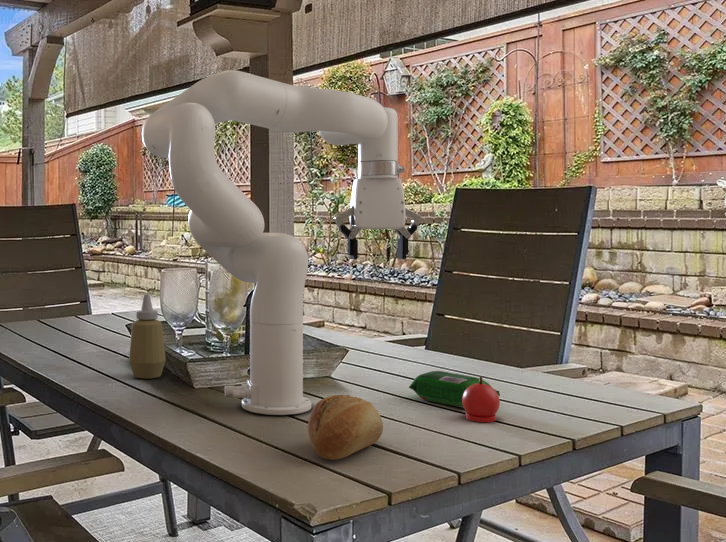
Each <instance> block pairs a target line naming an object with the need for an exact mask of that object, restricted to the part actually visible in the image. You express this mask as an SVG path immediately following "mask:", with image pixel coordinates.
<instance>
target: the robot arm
mask: <svg viewBox="0 0 726 542" xmlns="http://www.w3.org/2000/svg"><path fill="white" fill-rule="evenodd" d="M398 116H399V115H398V112H397V110H395V109H394V108H392V107H388V106H387V107H386V106H383V105H382V104H381V103H380V102H378V101H377V100H375V99H373V98H370V97H368V96H364V95H360V94H358V93H353V92H349V91H344V90H338V89H337V90H335V89H330V88H329V89H327V88H319V87H318V88H317V87H311V86H302V85H294V84H289V83H285V82H281V81H278V80H274V79H270V78H267V77H264V76H260V75H257V74H252V73H249V72H246V71H241V70H234V69H233V70H231V69H230V70H229V69H228V70H224V71H221V72H218V73H216V74H213V75H210V76H207V77H204V78H202V79H200V80H199V81H197V82H196V83H194V84H193V85H191V86H190V87H188V88H187V89H186V90H184V91H182V92H181V93H179V94H178V95H177V96H175V97H173V98H172V99H171V100H169V101H168V102H166V103H165V104H164V105H162V106H160V107H159V108H158V109H156V110H155V111H153V112H152V113H151V114H149V116H148V117H147V118H146V120H145V121H144V123H143V126H142V130H141V139H142V142H143V145H144V147H145V149H147V151H148V152H149V153H150V154H152V155H153V156H155V157H158V158H161V159H168V164H169V175H170V180H171V184H172V187H173V189H174V192H175V193H176V195H177V196H178V198H179V199H180V200H181V202H182V203H183V204H184V205H186V207H187V208H188V209H189V210H190V211H189V213H188V220H187V222H188V223H187V224H188V228H189V232H190V234H191V236H192V238H193V240H194V241H195V242H196V243H197V244H198V246H199V247H201V248H202V249H203V251H204V252H206V253H207V254H208V255H209V256H210V257H211V258H212V259H213V260H214V261H215V262H217V264H219V266H221V267H222V268H223V269H224V270H225V271H226V272H227V273H229V274H230V275H231V276H232V277H234V278H235V279H238V280H239V281H242V282H245V283H250V284H255V287H254V290H253V292H252V297H251V300H250V306H249V367H250V368H249V374H250V375H249V379H246V383H241V385H224V388H223V389H224V397H232V398H233V399H241V398H242V399H241V407H242V409H244V410H245V411H248V412H250V413H254V414H259V415H267V416H291V415H299V414H304V413H307V412H308V411H310V410H311V409H312V403H313V402H312V400H311V399H309V398H307V397H306V396H304V319H303V318H304V313H303V312H304V291H305V285H306V279H307V275H308V268H309V256H308V252H307V249H306V247H305V245H304V244H303V242H302V241H300V239H298V238H297V237H296V236H294V235H291V234H288V233H284V232H264V230H265V220H264V216H263V213H262V211H261V210H260V208H259V207H258V206H257V205H256V203H254V201H252V200H251V198H249V197H248V196H247V195H246V194H245V193H244V192H243V191H242V190H241V189H240V188H239V187H238V186H237V185H236V184H235V182H233V181H232V180H231V179H230V178H229V176H228V175H226V173H225V172H224V171H223V170H222V169H221V167H220V166H219V164H218V161H217V159H216V158H217V157H216V153H215V142H216V124H219V123H224V122H227V121H232V122H233V121H234V122H239V123H243V124H247V125H252V126H256V127H260V128H265V129H269V130H272V131H277V132H282V133H307V132H308V133H309V132H318V134H319V135H320V136H319V137H320V138H321V139H322V140H323V141H324V142H326V143H328V144H329V145H333V146H347V145H357V149H358V152H357V156H358V157H357V158H358V159H357V160H358V163H357V164H358V166H357V167H358V169H357V173H358V177H357V178H354V179H353V183H352V187H351V195H350V206H349V208H347V209H346V210H344V211H342V212H340V213H338V214H337V215H335V216H334V217H333V221H334V223H335V225H336V227H337V229H338V231H339V232H340V233H341V234H342V235H343V236H344V237H345V239H347V250H346V251H347V252H346V253H347V256H349V260H353V261H357V260H359V259H358V258H359V240H358V238H357V235H359V234H360V232H361V231H362V230H394V232H396V234H398V236H399V238H398V239H396V241H397V242H396V243H397V244H396V245H397V248H396V249H397V252H396V255H397V256H396V257H397V259H399V260H407V256H408V255H409V239H411V237H412V235H414V234H415V232H416V231H418V227H419V225H420V224H421V222H422V219H423V217H422V216H421V215H420V214H418V213H416V212H414V211H412V210H410V209H409V208H407V207H406V201H405V194H404V188H403V182H402V179H401V178H399V176H400V174H403V173H405V172H406V167H405V165H400V162H398V161H399V154H398V153H399V146H398V145H399V143H398V142H399V119H398V118H399V117H398ZM348 218H349V226H350V228H348V227H347V225H346V224H345V221H344V220H346V219H348ZM406 218H409V219H410V220H411V222H410V224H409V226H408V227H405V226H406Z"/></svg>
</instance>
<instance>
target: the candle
mask: <svg viewBox="0 0 726 542" xmlns="http://www.w3.org/2000/svg"><path fill="white" fill-rule="evenodd" d="M478 378H479V383H477V384H473V385H471V386H469V387H468V388H467V389H466V390H465V391H464V393H463V397H462V403H463V407H464V408H463V409H464V410H465V411H466V412H465V418H466V420H468V421H472V422H476V423H493V422H496V421H497V415H496V414H497V412H498V411H499V409H500V405H501V401H500V396H498V394H497V392H496V391H495V390H496V389H495V388H494V387H492V385H490V384H489V385H490V386H489V385H486V384H483V383H482V380H483V377H482V376H479V377H478ZM494 389H495V390H494Z"/></svg>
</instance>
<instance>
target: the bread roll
mask: <svg viewBox="0 0 726 542" xmlns="http://www.w3.org/2000/svg"><path fill="white" fill-rule="evenodd" d="M383 431H384V425H383V419H382V416H381V415H380V413H379V411H378V409H377V408H376V407H375V406H374V405H373V403H371V402H370V401H367V400H365V399H363V398H361V397H357V396H351V395H350V394H332V395H328V396H326V397H324V398H322V399H319V401H318V402H316V403H315V405H314V406H313V408H312V411H311V412H310V414H309V418H308V422H307V434H308V438H309V442H310V445H311V447H312V449H313V450H314V451H315V453H316V454H317V455H318V456H319V457H321V458H322V459H325V460H331V461H332V460H333V461H334V460H341V459H344V458H346V457H348V456H350V455H352V454H355V453H357V452H359V451H361V450H363V449H365V448H368V447H370V446H372V445H374V444H376V443H377V442H378V441H379V439H381V437H382V435H383Z"/></svg>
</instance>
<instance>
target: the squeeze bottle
mask: <svg viewBox="0 0 726 542" xmlns="http://www.w3.org/2000/svg"><path fill="white" fill-rule="evenodd" d="M158 312H159V311H158V310H154V308H153V304H152V300H151V294H149V293H145V294H143V298H142V304H141V308H140V310H136V312H135V315H136V317H135V318H136V320H134V321H132V323H131V332H130V342H129V343H130V344H129V354H128V362H129V366H130V369H131V371H132V374H133V377H134V378H136V379H143V380H149V379H156V378H160V377H161V376H162V374H163V370H164V367H165V364H166V348H165V340H164V329H163V323H162V321H160V320H159V319H158V318H159V317H158V316H159V315H158V314H159V313H158Z"/></svg>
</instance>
